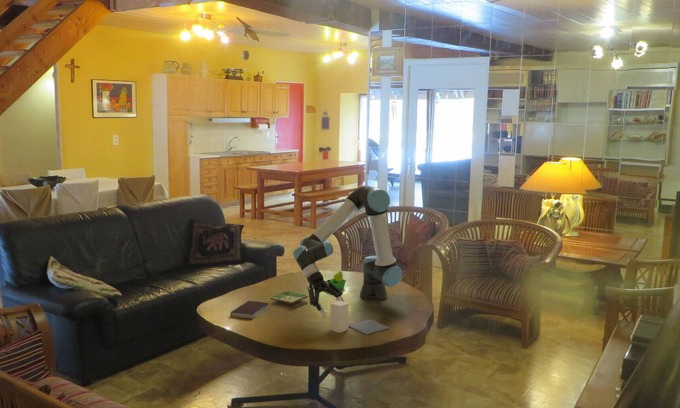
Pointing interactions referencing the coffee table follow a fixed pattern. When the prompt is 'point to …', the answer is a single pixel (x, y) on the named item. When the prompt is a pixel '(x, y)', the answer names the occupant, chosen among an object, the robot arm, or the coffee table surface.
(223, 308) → the coffee table surface
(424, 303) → the coffee table surface
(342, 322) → the cream block
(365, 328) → the slate mat
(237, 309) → the book
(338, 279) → the fruit basket
